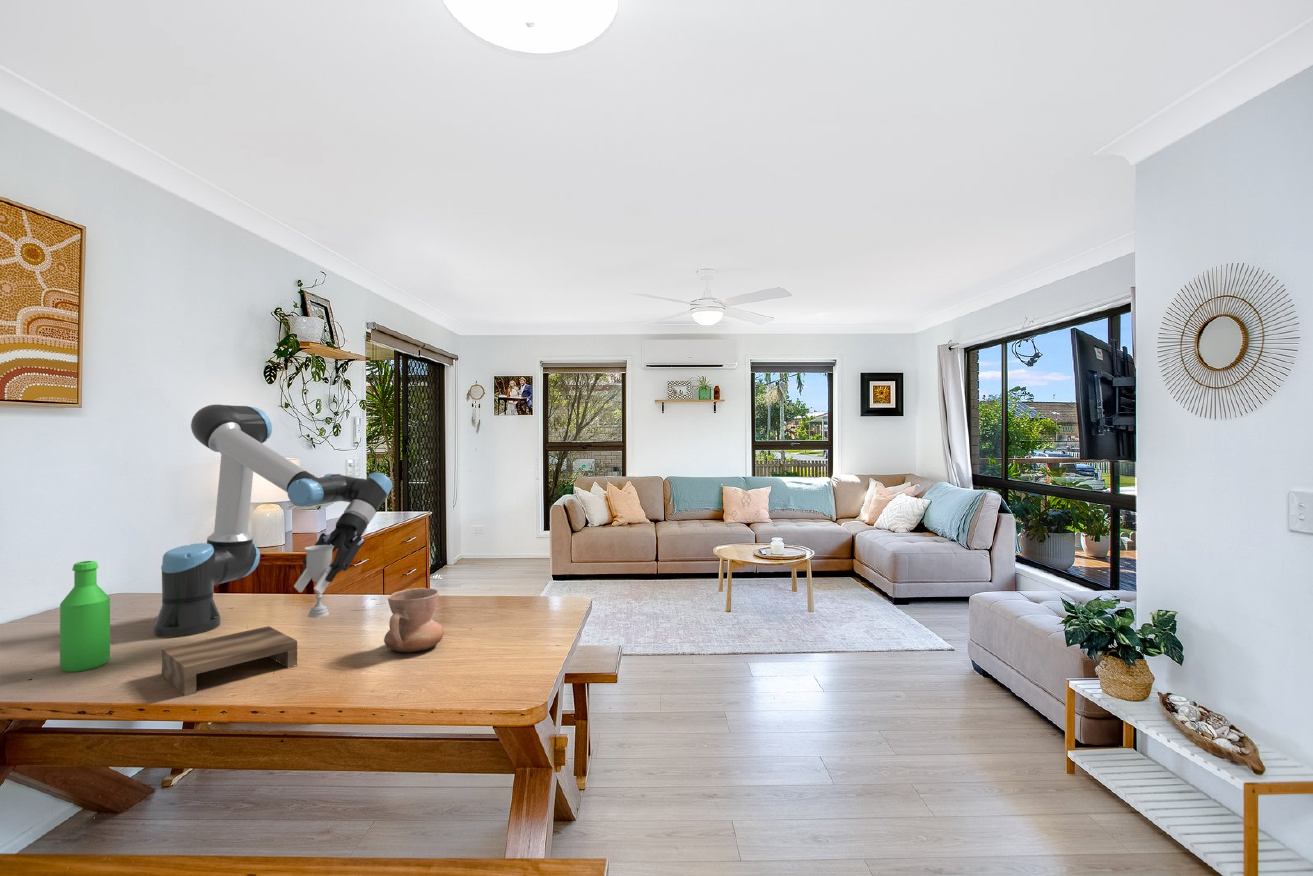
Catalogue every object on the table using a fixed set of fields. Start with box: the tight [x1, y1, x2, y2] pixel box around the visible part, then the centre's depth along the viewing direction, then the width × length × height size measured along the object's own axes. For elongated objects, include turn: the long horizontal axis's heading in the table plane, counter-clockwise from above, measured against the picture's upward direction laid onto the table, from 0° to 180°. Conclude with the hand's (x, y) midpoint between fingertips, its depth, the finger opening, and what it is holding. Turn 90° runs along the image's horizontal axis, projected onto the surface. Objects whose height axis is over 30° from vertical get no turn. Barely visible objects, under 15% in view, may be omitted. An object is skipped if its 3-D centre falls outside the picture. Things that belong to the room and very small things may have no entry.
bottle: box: [59, 560, 111, 673], centre depth 147 cm, size 9×9×25 cm
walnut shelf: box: [161, 625, 298, 696], centre depth 144 cm, size 18×22×6 cm
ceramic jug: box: [383, 587, 445, 653], centre depth 160 cm, size 18×14×14 cm
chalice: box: [304, 545, 334, 619], centre depth 163 cm, size 7×7×18 cm
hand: (307, 590), depth 159 cm, fingers closed on chalice, 6 cm apart
